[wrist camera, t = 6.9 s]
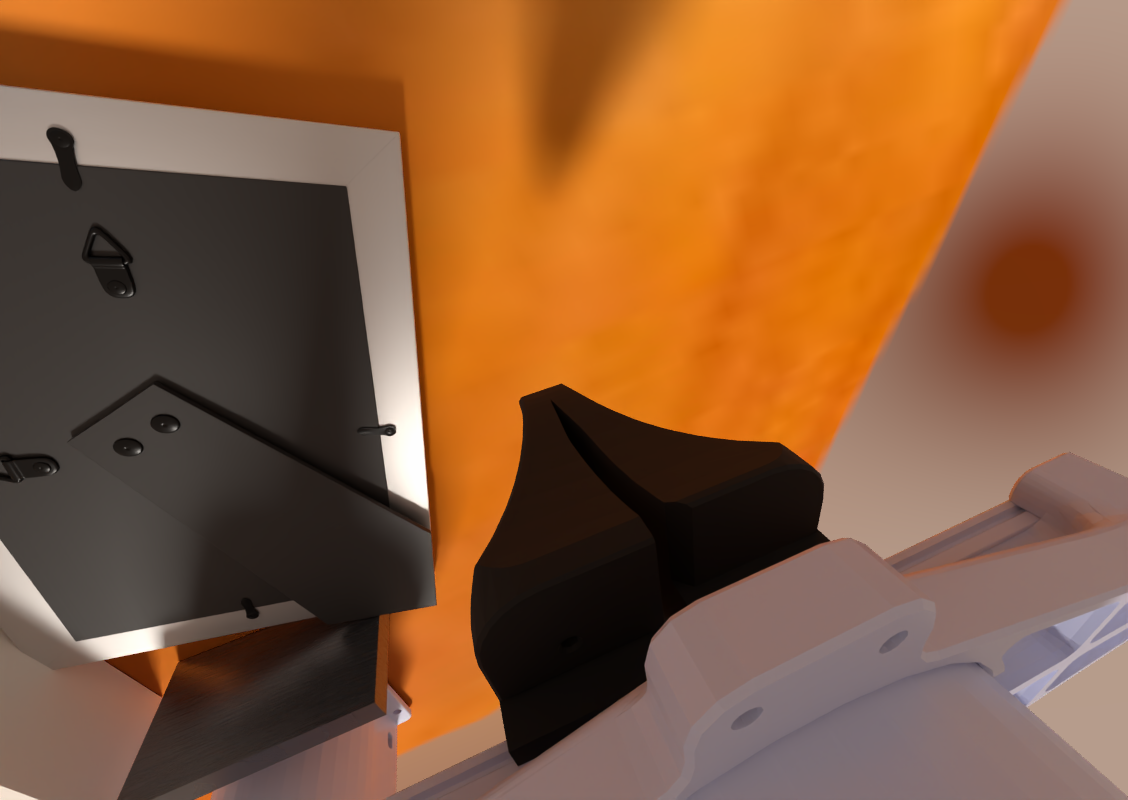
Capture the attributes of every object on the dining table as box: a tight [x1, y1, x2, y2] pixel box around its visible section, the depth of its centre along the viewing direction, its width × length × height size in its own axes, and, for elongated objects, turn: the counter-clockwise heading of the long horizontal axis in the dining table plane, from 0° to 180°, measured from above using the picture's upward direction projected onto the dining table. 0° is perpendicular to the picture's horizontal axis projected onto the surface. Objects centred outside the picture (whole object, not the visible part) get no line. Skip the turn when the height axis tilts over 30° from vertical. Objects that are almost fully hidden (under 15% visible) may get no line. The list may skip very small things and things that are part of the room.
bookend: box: [117, 614, 390, 800], centre depth 20 cm, size 1×10×6 cm, turn 101°
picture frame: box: [0, 85, 437, 670], centre depth 16 cm, size 16×3×21 cm
